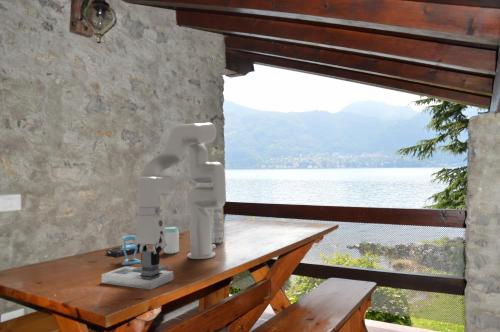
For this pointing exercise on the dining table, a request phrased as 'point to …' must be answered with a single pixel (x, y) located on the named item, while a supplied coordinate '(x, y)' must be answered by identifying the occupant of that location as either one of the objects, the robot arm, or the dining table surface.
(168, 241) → the can
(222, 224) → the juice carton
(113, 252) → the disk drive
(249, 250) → the dining table surface
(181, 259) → the dining table surface
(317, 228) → the dining table surface
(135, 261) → the chair
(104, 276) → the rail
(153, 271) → the flanged block
